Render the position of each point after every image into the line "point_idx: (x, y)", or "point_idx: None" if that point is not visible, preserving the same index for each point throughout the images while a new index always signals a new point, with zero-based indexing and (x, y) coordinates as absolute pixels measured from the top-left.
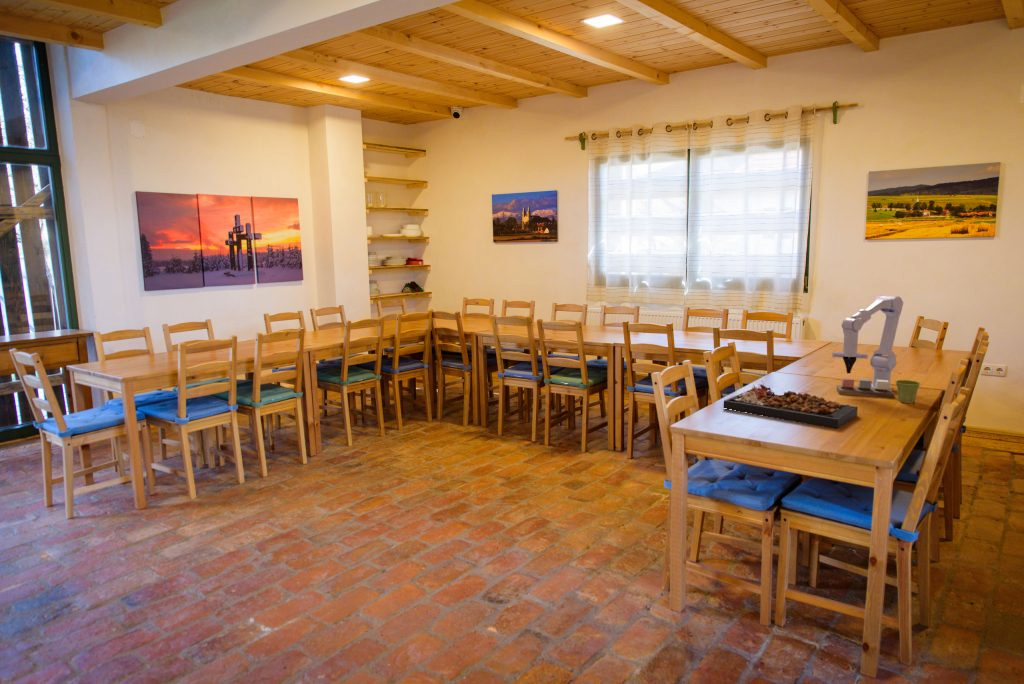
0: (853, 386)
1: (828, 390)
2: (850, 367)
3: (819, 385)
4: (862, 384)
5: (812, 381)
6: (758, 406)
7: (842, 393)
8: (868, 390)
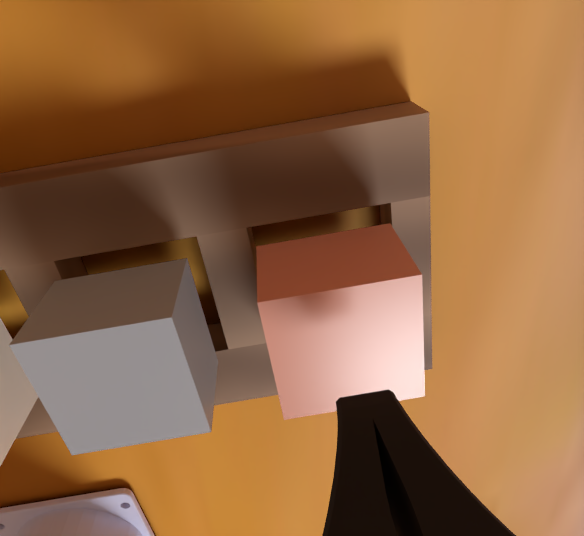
0: (260, 251)
1: (500, 257)
2: (366, 491)
3: (547, 414)
4: (147, 289)
5: (574, 507)
6: None
7: (372, 112)
8: None
